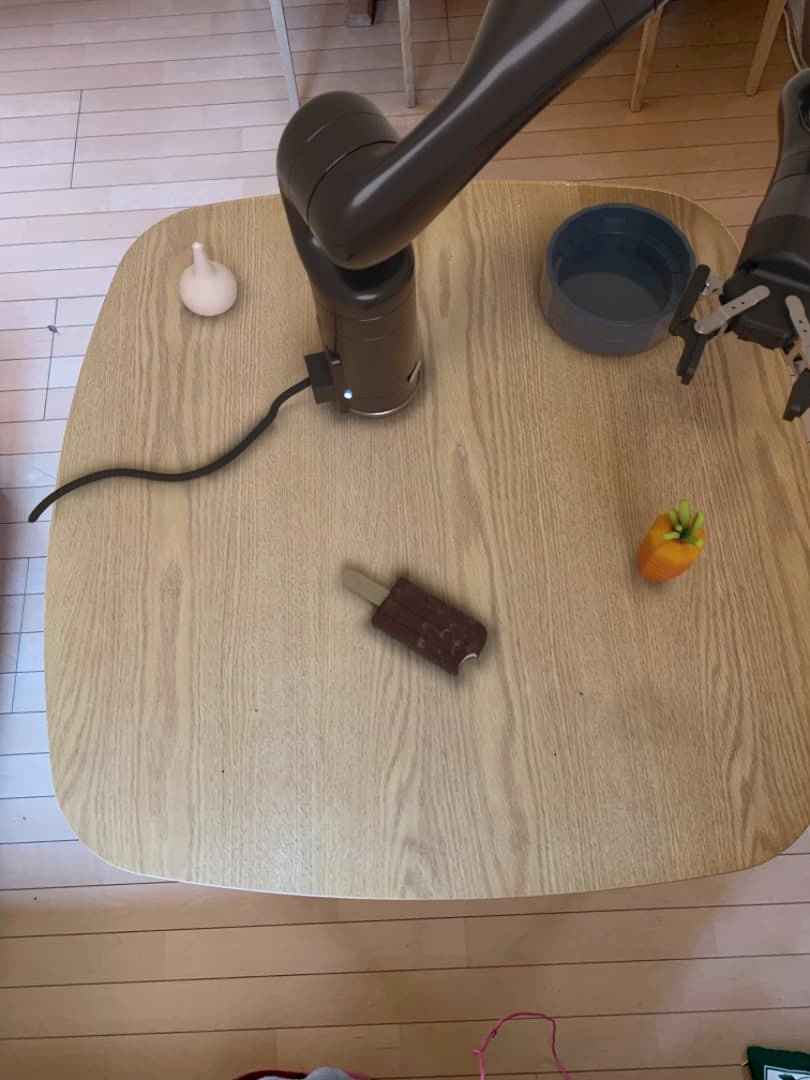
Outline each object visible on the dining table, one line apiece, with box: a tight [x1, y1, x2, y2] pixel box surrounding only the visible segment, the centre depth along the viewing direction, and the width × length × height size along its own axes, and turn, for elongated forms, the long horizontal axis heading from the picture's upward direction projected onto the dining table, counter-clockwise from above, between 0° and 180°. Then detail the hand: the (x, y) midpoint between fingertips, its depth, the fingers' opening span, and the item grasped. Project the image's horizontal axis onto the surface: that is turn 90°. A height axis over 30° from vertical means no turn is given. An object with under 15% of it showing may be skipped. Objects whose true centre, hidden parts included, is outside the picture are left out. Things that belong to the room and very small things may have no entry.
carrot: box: [636, 498, 707, 583], centre depth 74 cm, size 5×5×15 cm
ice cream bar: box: [341, 569, 488, 677], centre depth 80 cm, size 5×2×15 cm
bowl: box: [539, 202, 697, 356], centre depth 90 cm, size 15×15×6 cm
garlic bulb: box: [178, 241, 238, 317], centre depth 90 cm, size 6×6×8 cm
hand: (738, 398), depth 68 cm, fingers open, 8 cm apart
